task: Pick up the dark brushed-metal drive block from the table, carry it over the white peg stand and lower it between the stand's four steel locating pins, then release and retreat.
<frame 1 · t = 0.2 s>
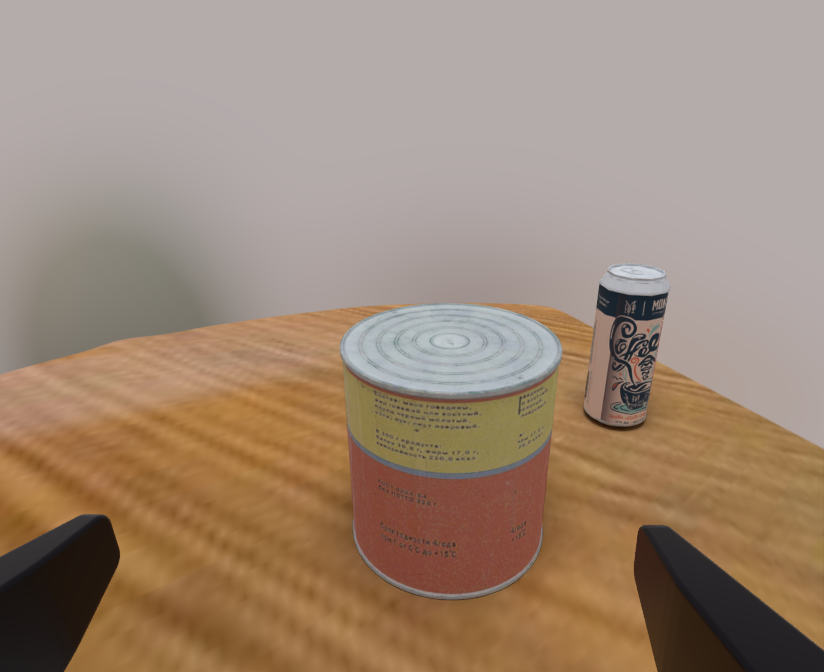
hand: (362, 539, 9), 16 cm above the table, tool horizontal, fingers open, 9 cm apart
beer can: (613, 417, 43), on the table
canned food 2: (446, 523, 33), on the table
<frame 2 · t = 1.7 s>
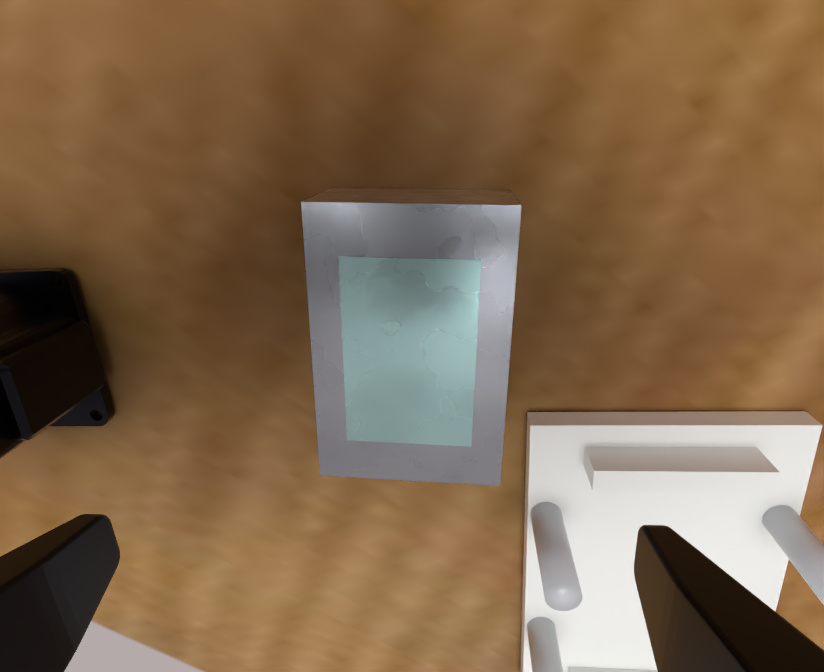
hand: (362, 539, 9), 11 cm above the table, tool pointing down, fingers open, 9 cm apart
white peg stand: (643, 558, 23), on the table
drive: (419, 313, 20), on the table
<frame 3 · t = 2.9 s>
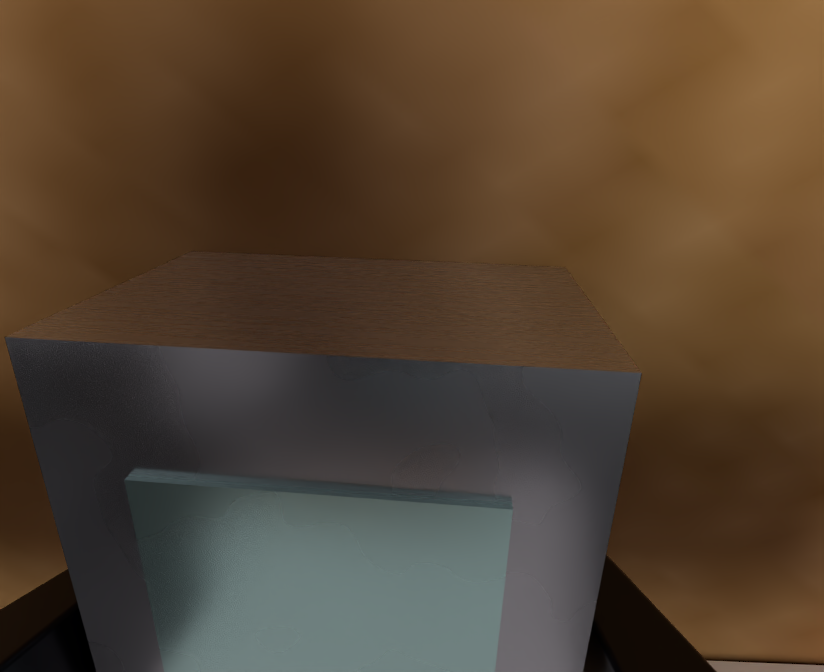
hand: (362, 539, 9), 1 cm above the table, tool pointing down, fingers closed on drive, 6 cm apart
drive: (375, 487, 10), on the table, touching gripper
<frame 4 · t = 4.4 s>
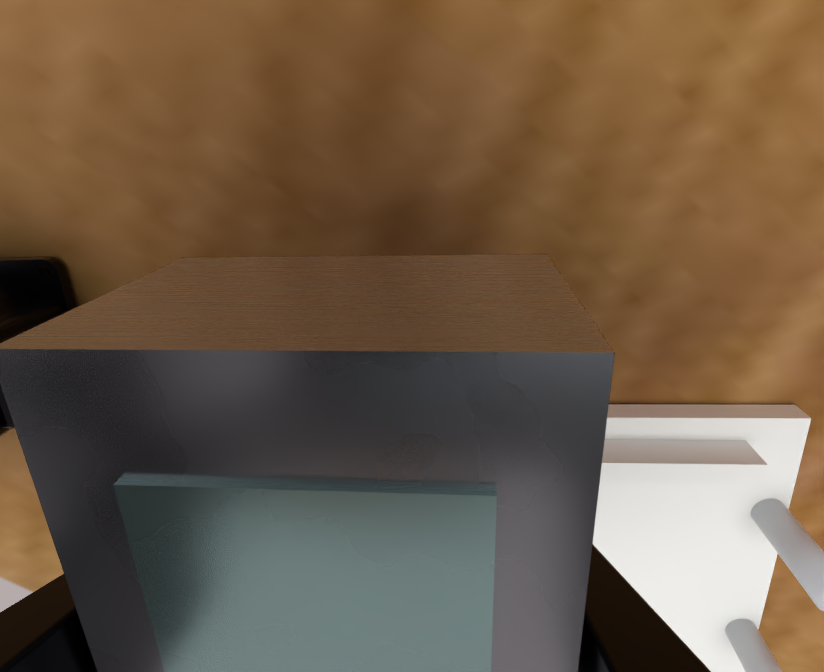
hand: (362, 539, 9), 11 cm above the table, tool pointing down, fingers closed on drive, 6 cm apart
white peg stand: (633, 551, 23), on the table
drive: (374, 485, 10), point 10 cm above the table, touching gripper
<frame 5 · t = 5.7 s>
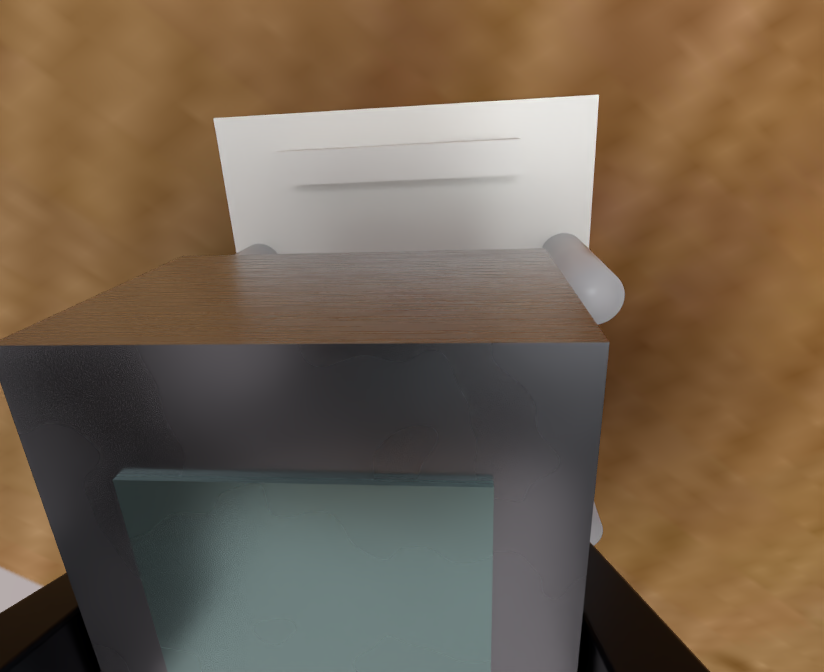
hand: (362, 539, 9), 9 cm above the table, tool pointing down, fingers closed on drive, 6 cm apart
white peg stand: (415, 344, 17), on the table
drive: (375, 482, 10), point 7 cm above the table, touching gripper
when the fingers open (3 cm above the table, at t = 7.5 s): drive stays where it is, resting on white peg stand.
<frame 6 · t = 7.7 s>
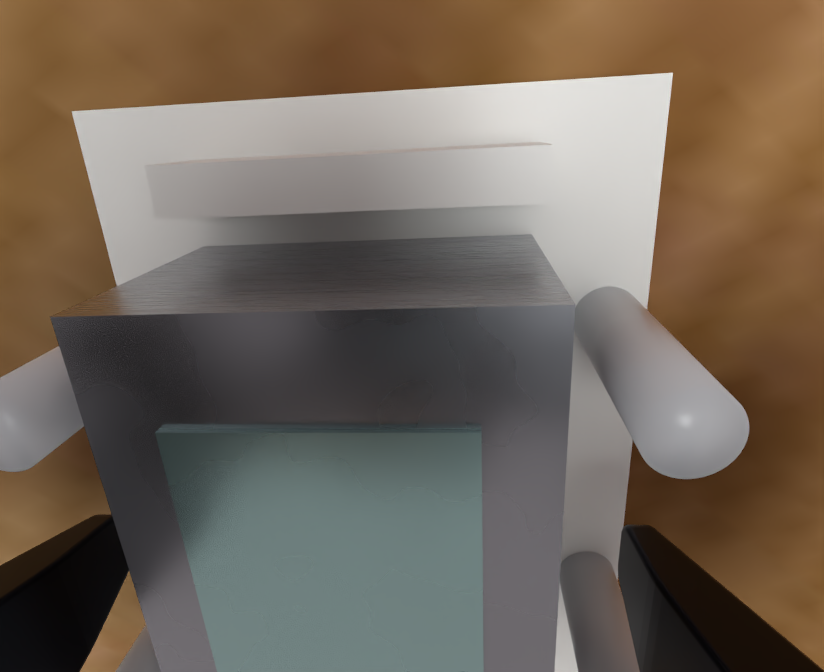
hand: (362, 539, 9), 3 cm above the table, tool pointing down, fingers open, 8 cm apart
white peg stand: (390, 431, 12), on the table
drive: (381, 453, 11), point 1 cm above the table, touching white peg stand
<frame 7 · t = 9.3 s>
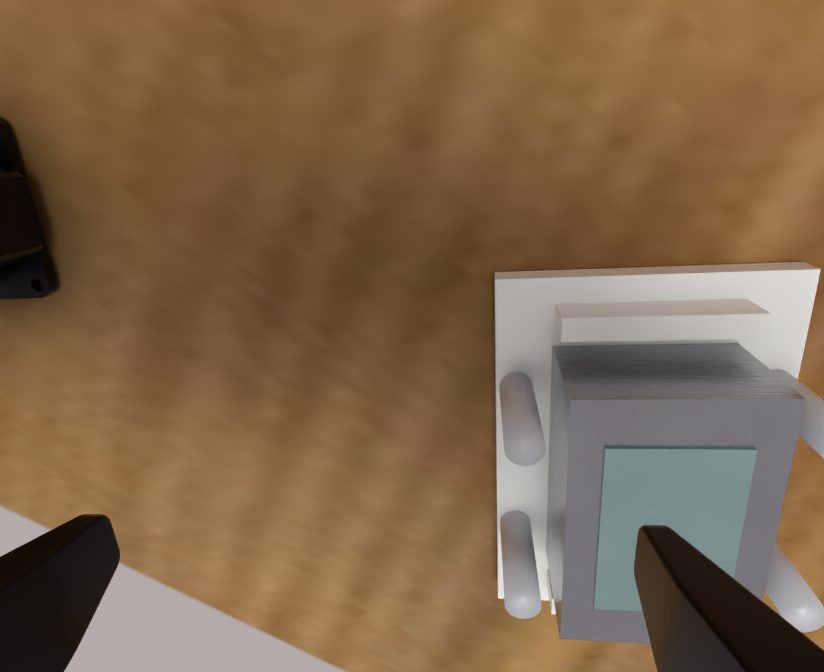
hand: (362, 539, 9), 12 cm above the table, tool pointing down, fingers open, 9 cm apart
white peg stand: (627, 444, 21), on the table
drive: (632, 457, 20), point 1 cm above the table, touching white peg stand
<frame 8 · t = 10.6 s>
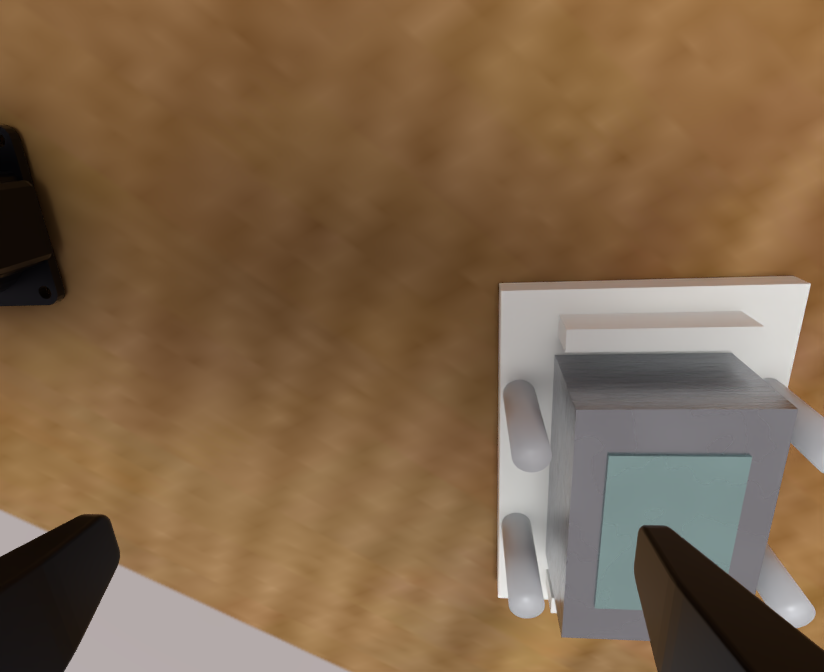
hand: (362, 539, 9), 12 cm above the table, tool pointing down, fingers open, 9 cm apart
white peg stand: (624, 449, 21), on the table
drive: (629, 462, 21), point 1 cm above the table, touching white peg stand
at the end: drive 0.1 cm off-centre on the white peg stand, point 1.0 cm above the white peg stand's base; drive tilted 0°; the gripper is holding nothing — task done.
